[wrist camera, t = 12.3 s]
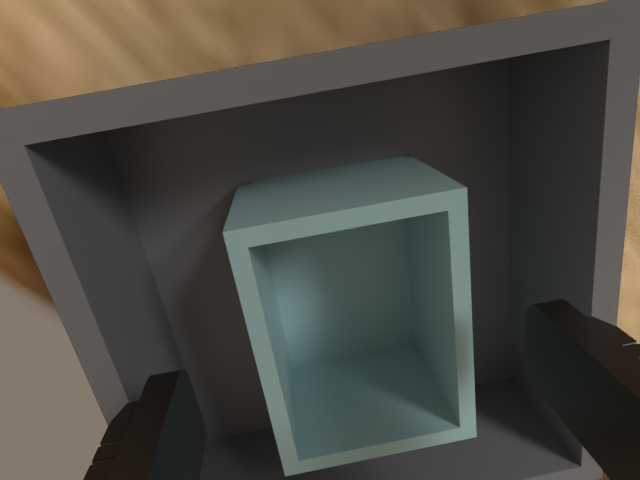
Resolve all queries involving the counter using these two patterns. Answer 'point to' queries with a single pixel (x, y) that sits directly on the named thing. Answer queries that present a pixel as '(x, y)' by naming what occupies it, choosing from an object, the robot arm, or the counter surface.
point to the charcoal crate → (327, 152)
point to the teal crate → (357, 308)
